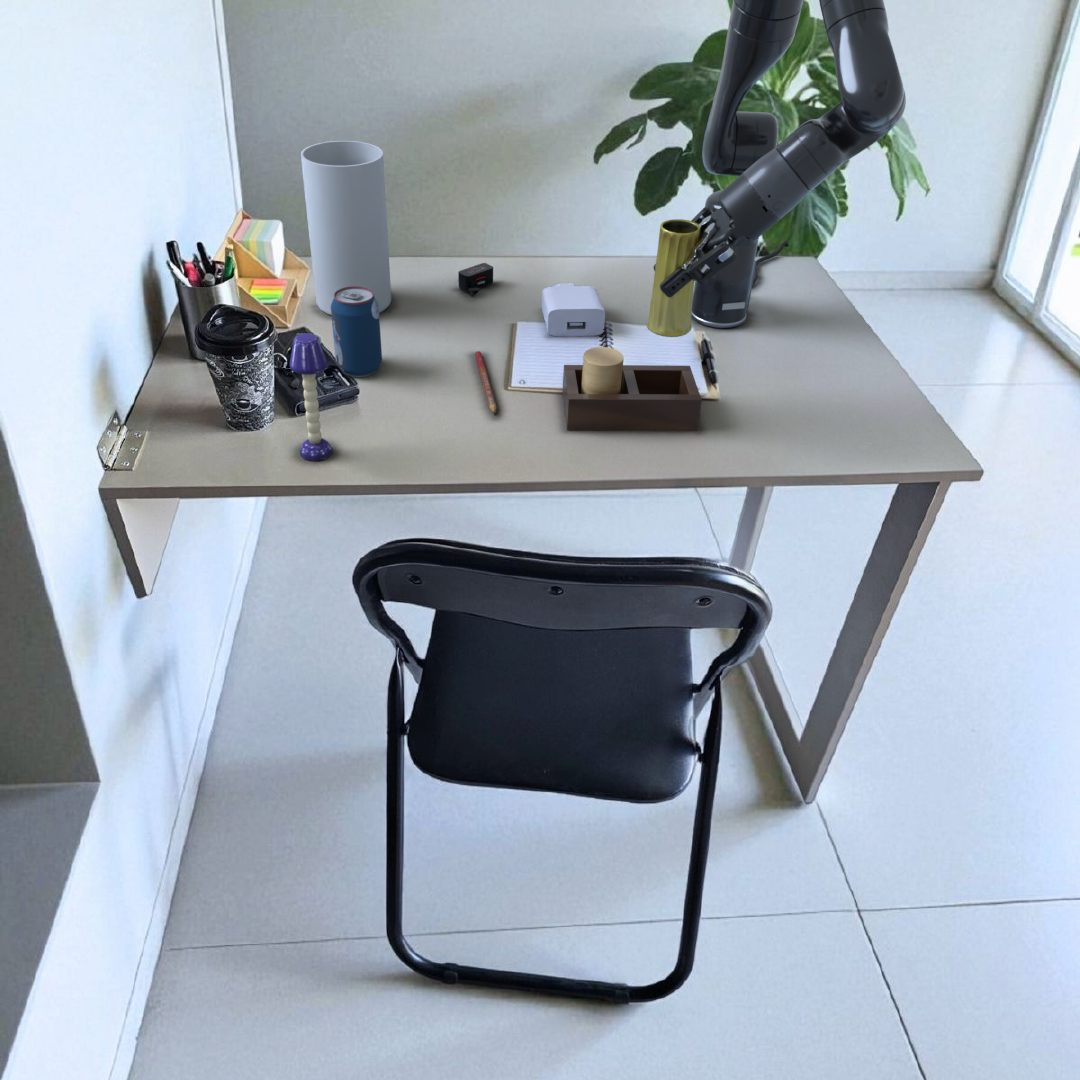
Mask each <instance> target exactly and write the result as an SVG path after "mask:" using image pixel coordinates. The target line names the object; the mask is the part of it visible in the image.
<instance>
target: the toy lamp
mask: <svg viewBox="0 0 1080 1080" xmlns="http://www.w3.org/2000/svg"><path fill="white" fill-rule="evenodd" d="M327 367H328V361H327V358H326V355H325V352H324V350H323V347H322V344H321V341H320V339H319V337H318V336H317V335H316V334H313V333H301V334H297V335H296V336H295V337H294V339H293V342H292V348H291V352H290V359H289V368H290V370H291V371H292V372H293V373H295V374H299V375H301V377H302V387H303V398H304V408H305V409H304V410H305V419H306V421H307V422H306V429H307V431H308V433H307V439H306V440H304V441H303V442H302V444H301V446H300V449H299V456H300V457H301V458H303V459H304V460H308V461H314V462H315V461H321V460H325V459H327V458H329V457H330V456H331V455H332V453H333V448H332V446H331V444H330V442H329V441H328V440H327V439H325V438H322V437H323V436H322V435H323V434H322V432H321V427H322V425H321V422H320V418H321V413H320V411H319V406H320V404H319V400H318V396H319V395H318V390H317V386H318V383H317V379H316V376H317V374H320V373H322V372H324V371H325V370H326V369H327Z"/></svg>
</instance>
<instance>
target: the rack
mask: <svg viewBox="0 0 1080 1080" xmlns="http://www.w3.org/2000/svg"><path fill="white" fill-rule="evenodd" d="M582 369H583V364H563V372H562V391H561V395H562V403H563V411H564V417H565V424H566V431H650V432H651V431H655V432H656V431H659V432H660V431H661V432H662V431H663V432H665V431H670V432H671V431H672V432H673V431H675V432H676V431H678V432H679V431H680V432H682V431H683V432H685V431H686V432H687V431H688V432H689V431H690V432H691V431H692V432H693V431H694V432H695V431H697V432H698V429H699V421H700V415H701V409H702V402H703V400H702V396H701V394H700V391H699V388H698V385H697V383H696V380H695V376H694V373H693V370H692V367H691V365H670V364H669V365H668V364H667V365H665V364H664V365H660V364H659V365H658V364H657V365H655V364H654V365H653V364H651V365H650V364H649V365H648V364H647V365H646V364H645V365H644V364H642V365H641V364H639V365H637V364H623V370H622V381H621V391H620V394H581V384H582Z"/></svg>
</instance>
